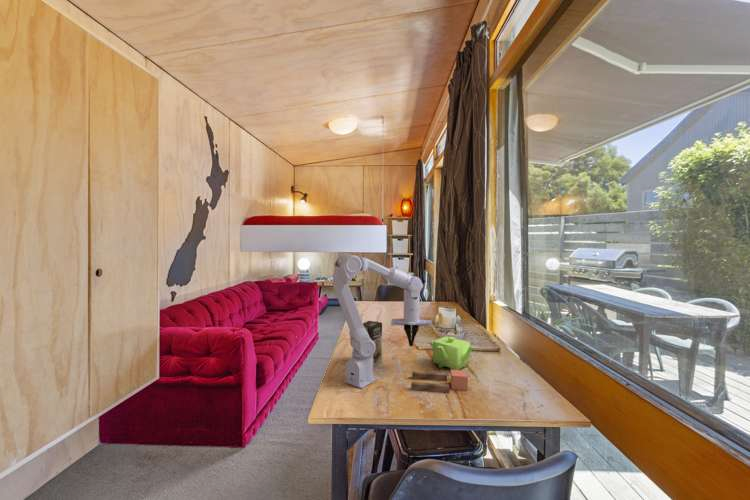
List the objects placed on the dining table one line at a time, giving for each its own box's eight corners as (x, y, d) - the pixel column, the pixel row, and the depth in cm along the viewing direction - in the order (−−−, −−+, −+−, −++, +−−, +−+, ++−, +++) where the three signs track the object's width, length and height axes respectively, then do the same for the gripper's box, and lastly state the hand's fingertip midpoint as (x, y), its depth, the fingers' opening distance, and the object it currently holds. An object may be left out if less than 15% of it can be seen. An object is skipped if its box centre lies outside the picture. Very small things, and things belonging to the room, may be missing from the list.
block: (451, 389, 109) (451, 375, 109) (450, 382, 114) (450, 369, 114) (467, 390, 108) (467, 376, 108) (465, 383, 113) (465, 370, 113)
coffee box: (370, 370, 123) (370, 327, 122) (355, 367, 127) (355, 325, 126) (382, 362, 131) (383, 322, 130) (368, 359, 134) (369, 319, 133)
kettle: (476, 374, 121) (477, 343, 120) (437, 375, 120) (438, 344, 119) (462, 358, 136) (463, 331, 135) (428, 359, 135) (428, 332, 134)
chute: (411, 390, 108) (411, 384, 108) (412, 376, 118) (412, 371, 118) (449, 392, 106) (449, 386, 106) (446, 379, 116) (446, 373, 116)
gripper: (390, 310, 118) (390, 347, 119) (432, 311, 116) (431, 350, 117) (392, 305, 125) (392, 341, 126) (431, 307, 123) (431, 343, 124)
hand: (411, 345), depth 122 cm, fingers closed
